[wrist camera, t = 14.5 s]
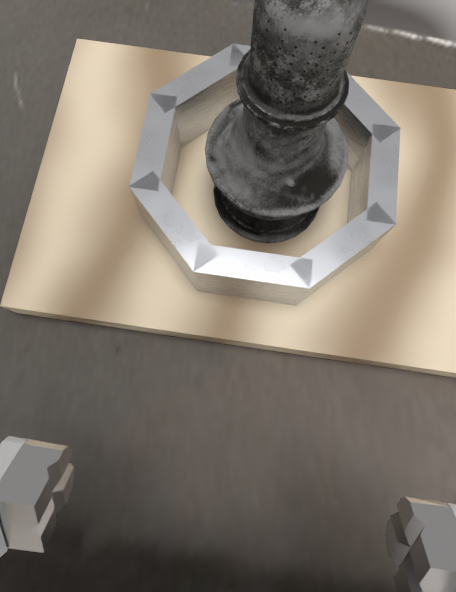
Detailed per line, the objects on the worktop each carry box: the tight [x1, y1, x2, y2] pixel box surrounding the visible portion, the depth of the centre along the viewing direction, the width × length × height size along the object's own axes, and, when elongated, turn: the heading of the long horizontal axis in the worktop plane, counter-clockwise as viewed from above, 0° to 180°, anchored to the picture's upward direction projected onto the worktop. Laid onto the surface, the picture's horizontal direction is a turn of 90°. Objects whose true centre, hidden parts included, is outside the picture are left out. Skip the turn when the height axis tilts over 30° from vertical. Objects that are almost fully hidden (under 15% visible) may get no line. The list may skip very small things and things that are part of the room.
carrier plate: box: [0, 39, 456, 378], centre depth 21 cm, size 22×15×2 cm
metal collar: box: [129, 44, 401, 306], centre depth 19 cm, size 11×11×3 cm
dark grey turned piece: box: [205, 0, 368, 243], centre depth 15 cm, size 6×6×12 cm
